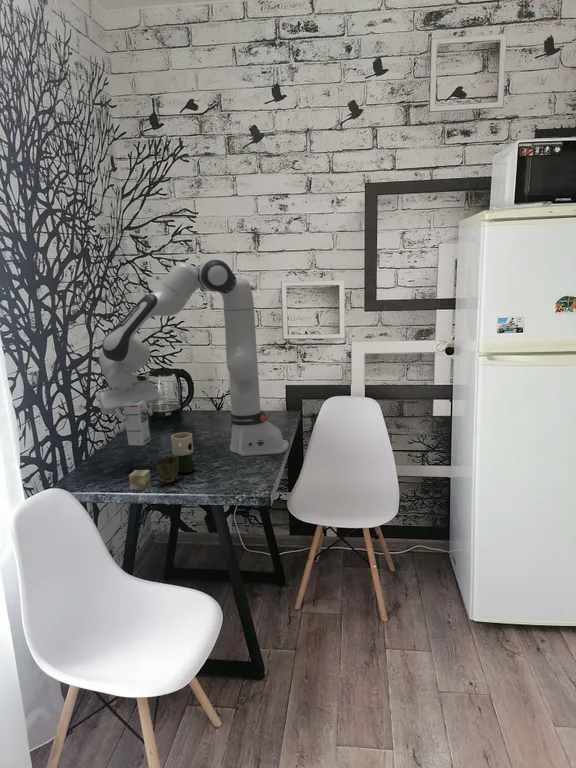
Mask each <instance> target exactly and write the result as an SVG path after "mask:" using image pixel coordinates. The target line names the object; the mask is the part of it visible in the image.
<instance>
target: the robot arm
mask: <svg viewBox="0 0 576 768" xmlns="http://www.w3.org/2000/svg"><path fill="white" fill-rule="evenodd" d="M198 289H203V290H205V291H208V292H211V293H214V292H215V293H217V292H218V293H219V294H220V296H221V297H222V301H223V315H224V316H223V317H224V319H223V320H224V331H225V332H224V333H225V355H226V356H225V357H226V368H227V371H228V376H229V399H230V410H231V411H230V417H229V420H230V425H231V426H230V428H231V440H230V446H229V451H230V452H232V453H235V454H238V455H239V456H242V457H245V456H262V455H276V454H282V453H284V452H286V451H287V450H288V449H289V445H290V444H289V442H288V440H286V439H283V434H282V431H281V430H280V429H279V427H277V426H276V425H274V424H273V423H271V422H269V421H268V420H267V412H266V411H265V412H264V411H262V410H261V397H260V382H259V380H260V379H259V366H258V365H259V364H258V362H259V361H258V351H257V335H256V334H257V332H256V331H257V330H256V318H255V305H254V304H255V303H254V296H253V291H252V287H251V284H250V282H249V281H248V280H246V279H245V278H242V277H236V275H235V274H234V273H233V271H232V269H231V268H230V266H229V265H228V264H227V263H226V262H224V261H223V260H220V259H209V260H207V261H205V262H203V263H201V264H199V265H197V266H194V265H193V264H191V263H188V262H186V261H185V262H184V261H181V262H178V263H177V264H175V265H174V266H173V267H172V268H171V269H170V271H169V272H168V273H167V274H166V275H165V277H164V278H163V279H162V281H161V282H160V283H159V285H158V286H157V288H156V289H154V291H152V292H151V293H149V294H145V296H143V297H142V298H141V299H140V300H139V301H138V302H137V303H136V304H135V305H134V306H133V307H132V309H130V311H129V312H128V313H127V314H126V315H125V316H124V317H123V318H122V320H121V321H120V323H118V325H117V326H116V327H114V328H113V329H112V330H111V331H110V332H109V333H107V334H106V335H105V337H104V338H103V339H102V344H101V350H100V351H99V354H98V361H99V365H100V368H101V370H102V374H103V376H104V378H106V380H107V381H106V382H107V385H108V388H104V389H99V390H98V391H96V392H95V394H94V397H95V398H96V401H98V405H99V408H100V412H101V414H103V415H105V416H106V415H111V414H114V416H115V417H117V418H118V419H119V420H120V422H121V423H124V422H126V420H127V418H126V417H125V414H122V412H124V406H123V405H124V404H126V403H128V402H131V401H135V400H146V404H147V412H148V417H151V416H153V414H154V413H153V409H152V408H153V406H154V405H157V404H159V402H160V398H161V397H160V394H159V392H158V390H157V388H156V387H155V385H154V384H153V383H152V382H150V378H149V376H148V375H139V374H134V373H135V372H137V371H139V370H141V369H142V368H144V367H145V366H146V365H148V363H149V361H150V358H151V350H150V347H149V346H148V344H145V343H144V342H142V341H140V340H138V339H135V338H134V335H135V334H136V333H137V331H139V329H140V328H141V327H142V326H143V325H144V323H145V322H146V321H147V320H149V319H150V318H153V317H158V316H159V317H160V316H163V317H171V316H176V315H177V314H179V313H180V312H181V311H182V310H183V309H184V308H185V306H186V305H187V303H188V301H189V300H190V298H191V297H192V296H193V294H194V293H195V291H197V290H198Z"/></svg>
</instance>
